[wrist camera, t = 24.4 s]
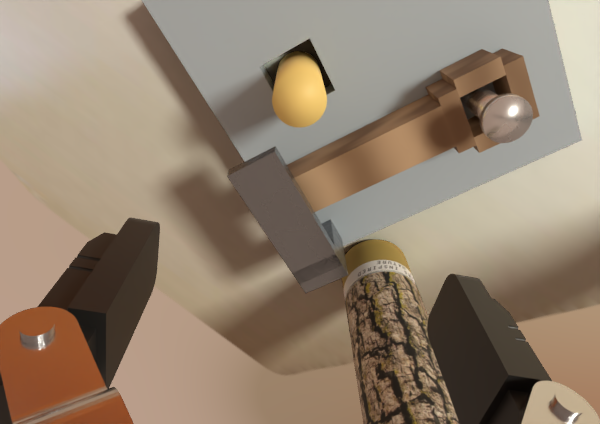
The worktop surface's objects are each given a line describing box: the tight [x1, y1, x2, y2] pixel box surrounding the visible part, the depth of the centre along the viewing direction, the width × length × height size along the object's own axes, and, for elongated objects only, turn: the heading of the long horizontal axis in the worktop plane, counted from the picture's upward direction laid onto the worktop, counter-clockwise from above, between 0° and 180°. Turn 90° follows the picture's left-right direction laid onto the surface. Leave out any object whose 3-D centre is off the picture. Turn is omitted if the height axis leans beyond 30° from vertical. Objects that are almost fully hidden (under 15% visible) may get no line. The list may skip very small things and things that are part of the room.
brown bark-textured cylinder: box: [342, 240, 460, 424], centre depth 35 cm, size 7×7×25 cm
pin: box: [272, 51, 327, 128], centre depth 33 cm, size 4×4×9 cm
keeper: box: [227, 146, 348, 293], centre depth 38 cm, size 12×4×8 cm, turn 28°
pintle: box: [460, 86, 533, 143], centre depth 34 cm, size 3×3×9 cm
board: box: [142, 0, 582, 246], centre depth 36 cm, size 26×26×2 cm
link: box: [287, 48, 540, 212], centre depth 35 cm, size 21×6×4 cm, turn 118°
